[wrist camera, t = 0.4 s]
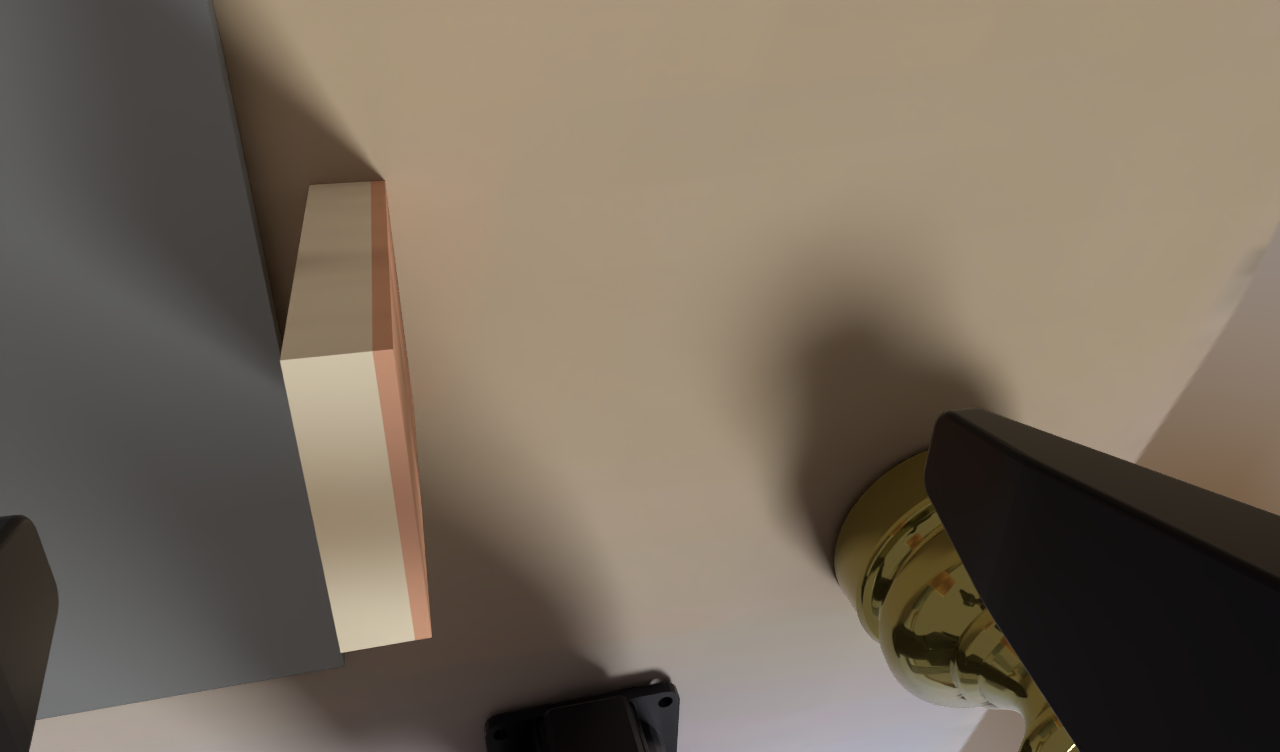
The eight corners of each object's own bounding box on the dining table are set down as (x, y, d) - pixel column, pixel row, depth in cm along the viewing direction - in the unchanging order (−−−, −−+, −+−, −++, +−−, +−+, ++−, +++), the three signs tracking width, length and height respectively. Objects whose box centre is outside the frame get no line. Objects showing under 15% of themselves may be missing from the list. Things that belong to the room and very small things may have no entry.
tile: (413, 408, 23) (431, 637, 17) (348, 415, 23) (340, 653, 16) (384, 180, 20) (393, 349, 14) (309, 184, 20) (279, 360, 13)
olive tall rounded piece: (939, 629, 33) (1130, 892, 25) (785, 581, 30) (947, 868, 22) (1071, 474, 31) (1331, 709, 23) (919, 404, 28) (1158, 650, 19)
